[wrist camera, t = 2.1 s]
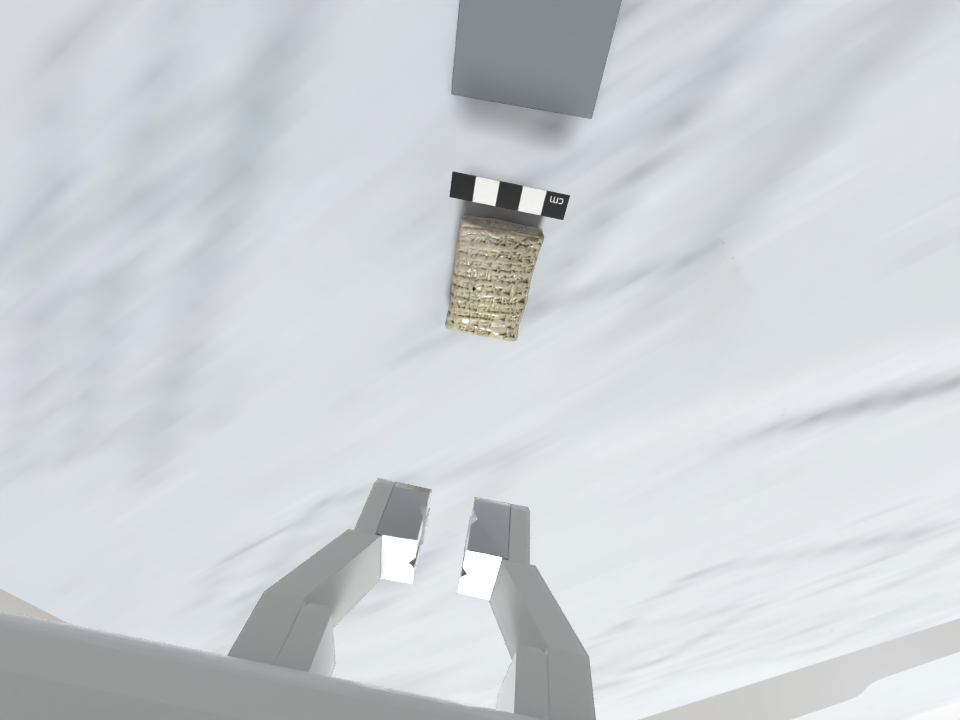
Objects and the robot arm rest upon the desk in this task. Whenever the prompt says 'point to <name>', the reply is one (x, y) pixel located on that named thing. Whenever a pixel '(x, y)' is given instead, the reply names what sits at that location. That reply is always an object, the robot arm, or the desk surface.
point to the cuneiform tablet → (496, 256)
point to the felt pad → (534, 52)
